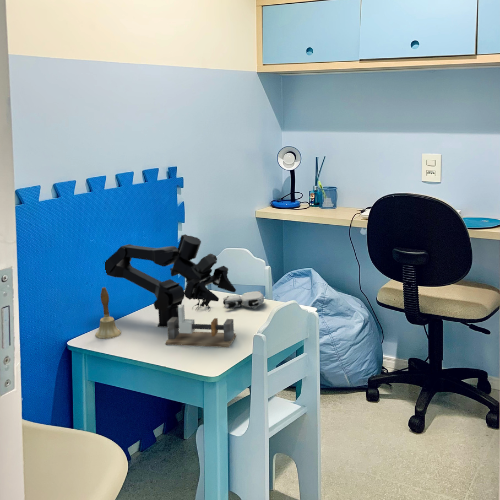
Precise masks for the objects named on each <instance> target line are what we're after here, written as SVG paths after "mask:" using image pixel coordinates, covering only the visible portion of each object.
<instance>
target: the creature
mask: <svg viewBox="0 0 500 500" xmlns="http://www.w3.org/2000/svg"><path fill="white" fill-rule="evenodd" d="M197 301H198V302H197V303H196V304H194V305H193V306H192V308H191V310H194V307H195V308H196V309H195V311H196V312H198V311H199V310H200V309H202V308H203V307H206V308H207V309H204V311H205V312H207V310H209V311H211V306H209V304H210V303H211V301H210V300H201V299H197ZM200 301H201V302H200ZM196 306H197V307H196Z"/></svg>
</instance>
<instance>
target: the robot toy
mask: <svg viewBox="0 0 500 500" xmlns="http://www.w3.org/2000/svg"><path fill="white" fill-rule="evenodd" d="M222 299H223V302H222V303H223V308H228V309H236V308H238V307H239V308H240V307H241V306H242V305H243V307H246V308H250V309H256V308H258V307H259V306H261V305H263V304H264V302H265V299H264V294H263V293H262V292H261V290H258V291H256V290H255V291H248V292H244V293H243V294H241V295H239V294H234V295H227V296H225V297H223V298H222Z"/></svg>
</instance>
